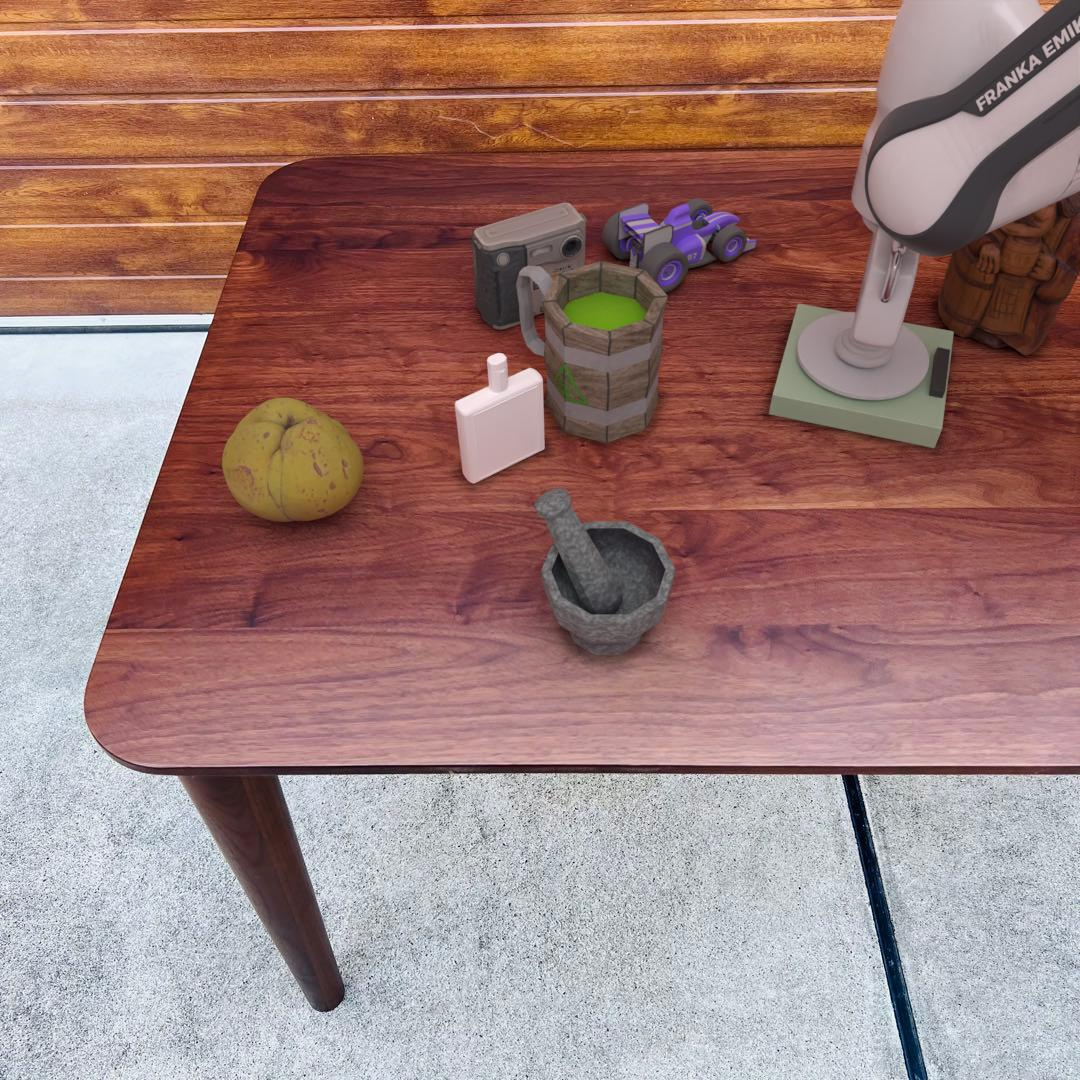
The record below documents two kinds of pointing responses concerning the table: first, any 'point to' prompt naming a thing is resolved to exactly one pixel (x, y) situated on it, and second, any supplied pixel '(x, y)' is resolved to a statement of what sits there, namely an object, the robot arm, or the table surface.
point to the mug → (597, 346)
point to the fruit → (291, 462)
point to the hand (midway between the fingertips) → (871, 322)
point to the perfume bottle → (500, 421)
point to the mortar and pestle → (602, 577)
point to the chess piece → (860, 352)
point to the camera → (523, 258)
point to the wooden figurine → (1014, 278)
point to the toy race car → (674, 240)
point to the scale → (864, 380)
